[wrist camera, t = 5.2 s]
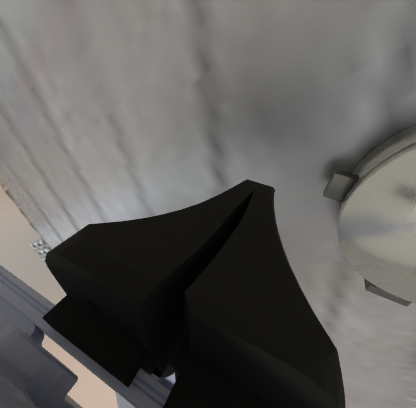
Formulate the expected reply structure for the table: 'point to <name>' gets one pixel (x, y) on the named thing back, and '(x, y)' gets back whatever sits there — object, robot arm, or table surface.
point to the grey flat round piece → (345, 181)
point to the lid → (383, 224)
